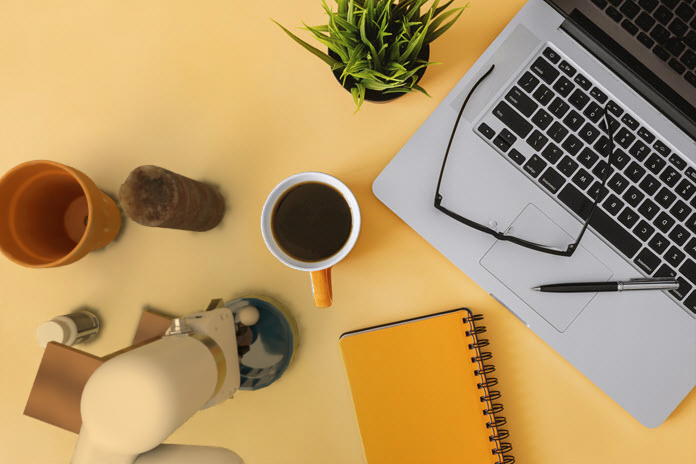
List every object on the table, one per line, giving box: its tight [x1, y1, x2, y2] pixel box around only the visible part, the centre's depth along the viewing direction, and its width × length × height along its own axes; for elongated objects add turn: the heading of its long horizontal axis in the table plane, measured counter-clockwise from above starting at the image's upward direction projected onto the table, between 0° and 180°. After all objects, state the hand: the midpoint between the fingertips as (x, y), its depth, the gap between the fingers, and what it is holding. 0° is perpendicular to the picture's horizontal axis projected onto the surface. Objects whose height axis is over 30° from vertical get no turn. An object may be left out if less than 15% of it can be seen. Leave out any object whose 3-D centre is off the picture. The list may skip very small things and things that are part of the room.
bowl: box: [224, 294, 300, 392], centre depth 71 cm, size 13×13×6 cm
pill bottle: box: [35, 310, 100, 350], centre depth 71 cm, size 5×5×8 cm
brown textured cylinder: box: [118, 164, 226, 233], centre depth 65 cm, size 8×7×20 cm
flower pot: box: [0, 159, 122, 270], centre depth 69 cm, size 14×14×13 cm
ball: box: [239, 306, 260, 326], centre depth 72 cm, size 3×3×3 cm
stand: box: [22, 309, 173, 436], centre depth 62 cm, size 9×9×24 cm
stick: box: [236, 323, 253, 348], centre depth 66 cm, size 4×4×12 cm
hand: (237, 339), depth 65 cm, fingers closed on stick, 2 cm apart
